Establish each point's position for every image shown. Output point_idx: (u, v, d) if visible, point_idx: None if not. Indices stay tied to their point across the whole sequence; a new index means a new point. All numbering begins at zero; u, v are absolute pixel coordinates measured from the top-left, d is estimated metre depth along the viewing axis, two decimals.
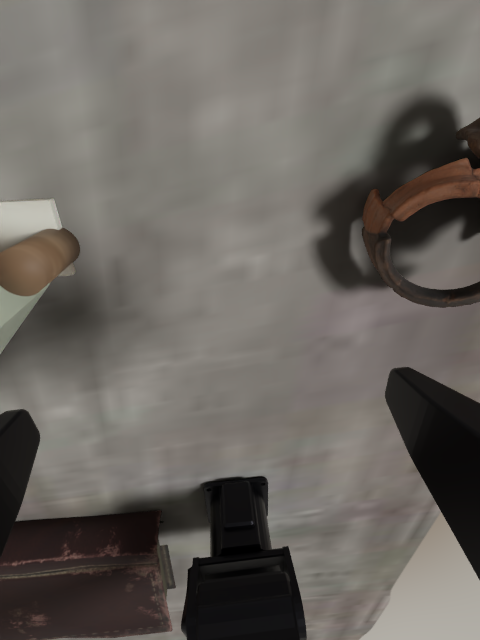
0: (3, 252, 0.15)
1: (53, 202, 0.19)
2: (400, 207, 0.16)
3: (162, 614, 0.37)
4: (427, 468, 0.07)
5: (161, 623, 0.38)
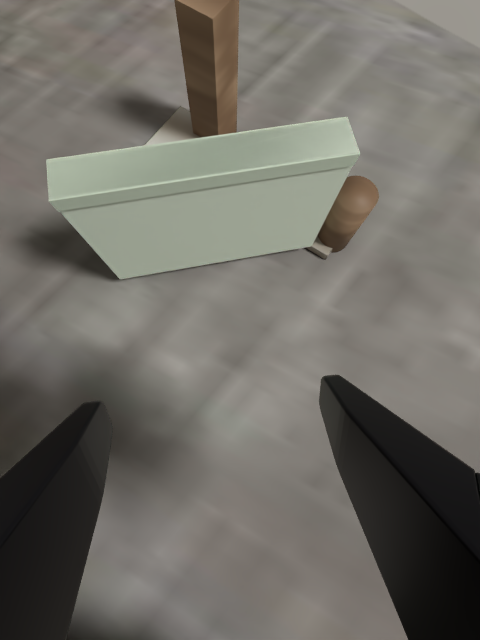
0: (361, 177, 0.19)
1: None
2: None
3: None
4: (348, 478, 0.07)
5: None
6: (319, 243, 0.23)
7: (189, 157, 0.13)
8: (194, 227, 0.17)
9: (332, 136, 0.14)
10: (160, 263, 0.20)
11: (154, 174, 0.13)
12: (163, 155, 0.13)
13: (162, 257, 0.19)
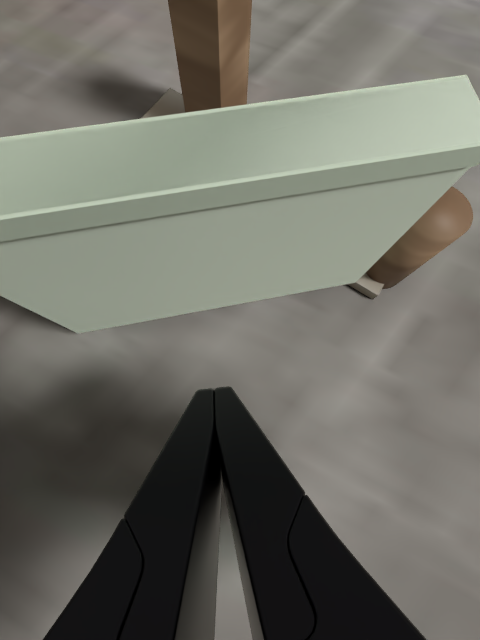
0: None
1: None
2: None
3: None
4: (225, 494, 0.07)
5: None
6: (365, 277, 0.16)
7: (170, 148, 0.07)
8: (185, 268, 0.10)
9: (442, 109, 0.07)
10: (135, 313, 0.13)
11: (98, 183, 0.07)
12: (119, 145, 0.07)
13: (138, 307, 0.13)
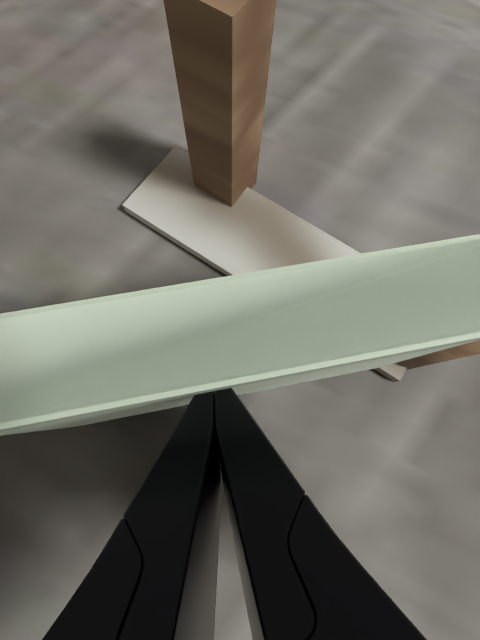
0: None
1: None
2: None
3: None
4: (225, 494, 0.07)
5: None
6: None
7: (185, 330, 0.06)
8: None
9: None
10: (139, 413, 0.12)
11: (99, 379, 0.05)
12: (124, 326, 0.06)
13: (142, 411, 0.12)
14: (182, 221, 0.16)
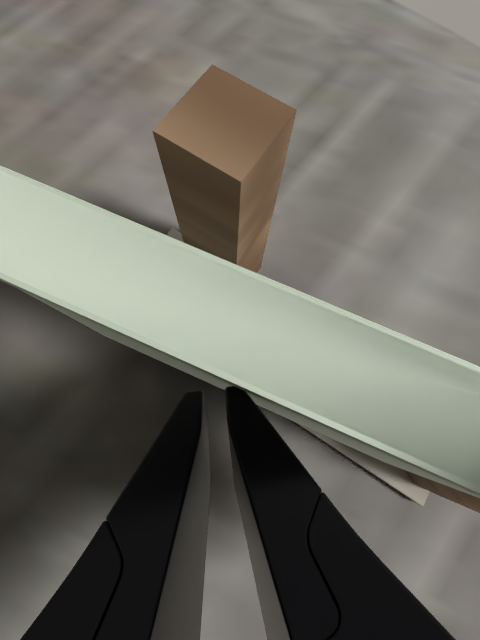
0: None
1: None
2: None
3: None
4: (237, 492, 0.07)
5: None
6: (407, 481, 0.13)
7: (240, 316, 0.06)
8: (210, 377, 0.09)
9: None
10: (156, 358, 0.13)
11: (146, 312, 0.06)
12: (193, 281, 0.06)
13: (159, 358, 0.12)
14: None
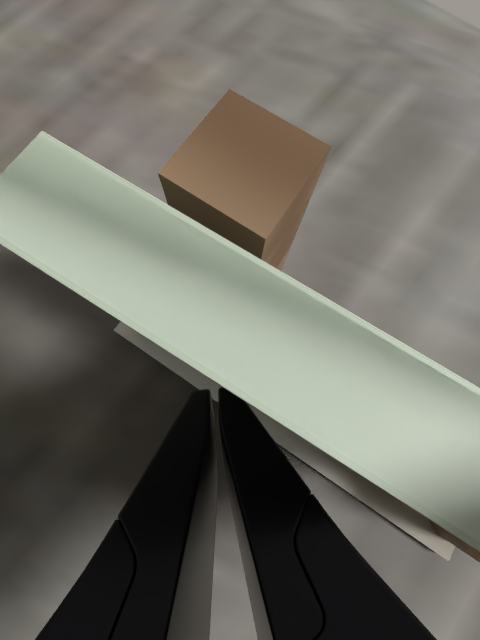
0: None
1: None
2: None
3: None
4: (229, 493, 0.07)
5: None
6: (431, 533, 0.12)
7: (307, 351, 0.05)
8: None
9: None
10: None
11: (198, 330, 0.05)
12: (256, 301, 0.05)
13: None
14: None
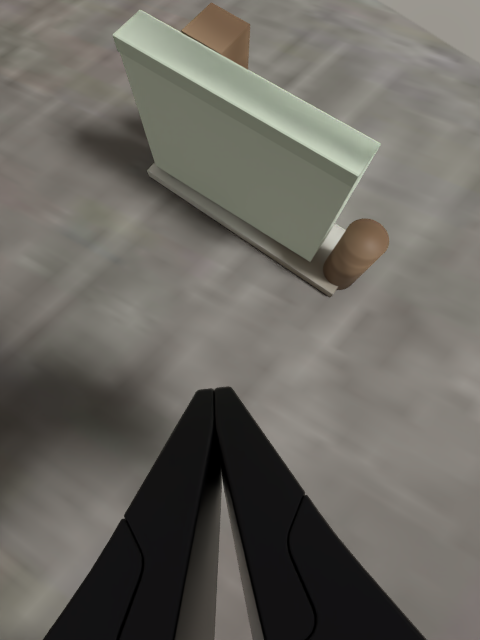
0: (371, 220, 0.18)
1: None
2: None
3: None
4: (225, 494, 0.07)
5: None
6: (324, 280, 0.22)
7: (230, 78, 0.14)
8: (214, 154, 0.18)
9: (351, 147, 0.14)
10: (186, 173, 0.21)
11: (193, 71, 0.14)
12: (214, 64, 0.14)
13: (188, 168, 0.21)
14: None
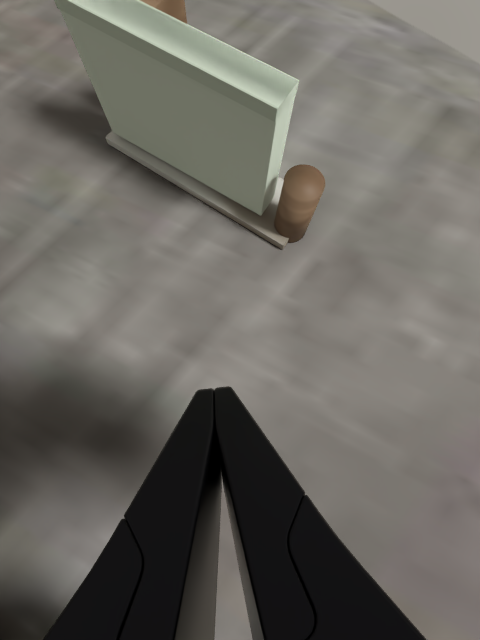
0: (309, 166, 0.19)
1: None
2: None
3: None
4: (225, 494, 0.07)
5: None
6: (275, 233, 0.23)
7: (159, 26, 0.15)
8: (158, 108, 0.19)
9: (271, 84, 0.15)
10: (139, 135, 0.22)
11: (126, 21, 0.15)
12: (145, 14, 0.16)
13: (140, 129, 0.22)
14: None
